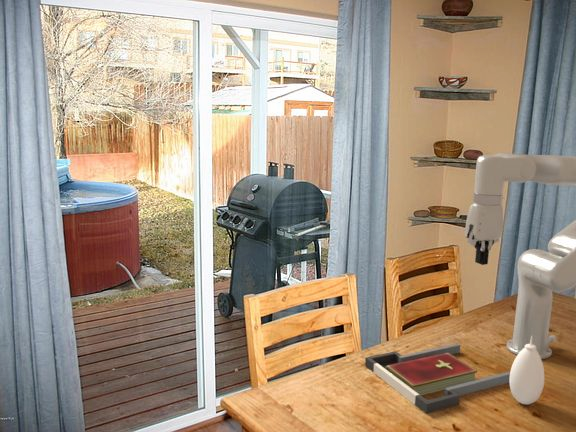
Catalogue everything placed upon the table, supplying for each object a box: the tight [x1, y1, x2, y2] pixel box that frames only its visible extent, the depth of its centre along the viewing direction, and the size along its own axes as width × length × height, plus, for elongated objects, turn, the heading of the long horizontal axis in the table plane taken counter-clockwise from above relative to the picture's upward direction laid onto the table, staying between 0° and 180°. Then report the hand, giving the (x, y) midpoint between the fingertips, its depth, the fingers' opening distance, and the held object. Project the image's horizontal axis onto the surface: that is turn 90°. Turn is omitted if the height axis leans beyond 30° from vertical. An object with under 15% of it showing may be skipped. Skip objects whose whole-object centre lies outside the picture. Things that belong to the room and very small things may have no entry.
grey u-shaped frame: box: [364, 343, 510, 414], centre depth 146 cm, size 31×26×2 cm
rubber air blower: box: [508, 336, 545, 405], centre depth 132 cm, size 8×8×18 cm
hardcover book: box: [386, 353, 478, 396], centre depth 144 cm, size 12×21×4 cm, turn 114°
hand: (481, 263), depth 152 cm, fingers closed
